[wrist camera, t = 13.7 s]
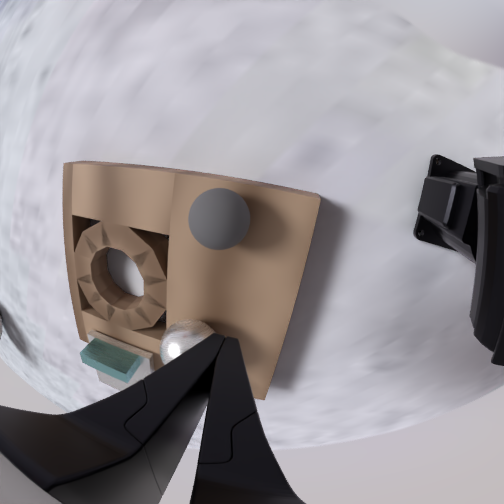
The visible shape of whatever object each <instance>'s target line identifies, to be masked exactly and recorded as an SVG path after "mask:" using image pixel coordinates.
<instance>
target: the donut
mask: <svg viewBox="0 0 504 504" xmlns="http://www.w3.org/2000/svg"><path fill="white" fill-rule="evenodd" d="M1 335H2V319H1V315H0V339H1Z"/></svg>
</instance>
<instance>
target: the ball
mask: <svg viewBox="0 0 504 504" xmlns="http://www.w3.org/2000/svg"><path fill="white" fill-rule="evenodd" d="M213 333H216V332H215V331H214V330H213V329H212V328H211V327H210V326H209V325H207V324H206V323H204V322H202V321H199V320H194V319H185V320H180V321H178V322H176V323H174V324H172V325H171V326H170V327H169V328H168V329H167V330H166V331H165V332H164V334H163V336H162V338H161V341H160V356H161V359H162V362H163V363H164V365H165V364H167V363H168V362H170V361H171V360H173V359H175V358H176V357H178V356H179V355H181V354H182V353H184V352H185V351H187V350H188V349H190V348H191V347H193V346H194V345H196V344H198V343H199V342H201V341H202V340H204V339H205V338H207V337H208V336H210V335H211V334H213Z"/></svg>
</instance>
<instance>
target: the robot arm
mask: <svg viewBox="0 0 504 504" xmlns="http://www.w3.org/2000/svg"><path fill="white" fill-rule="evenodd" d="M436 159H438V160H439V163H438V164H436ZM473 160H474V168H476V172H475V171H473V170H471V169H469V168H467V167H465V166H463V165H461V164H458V163H456V162H454V161H452V160H450V159H448V158H445V157H443V156H441V155H436V154H435V155H433V156H432V157H431V160H430V165H429V170H428V175H427V177H426V178H425V181H424V185H423V190H422V194H421V198H420V202H419V206H418V212H419V213H418V217H417V221H416V224H415V228H414V232H413V234H414V236H415V237H416V238H417V239H418V240H421V241H425V242H428V243H432V244H435V245H438V246H442V247H445V248H448V249H451V250H455V251H458V252H460V253H461V254H462V255H464V256H465V257H467V258H468V259H469V260H471V261H472V262H473V263H475V264H476V270H475V280H474V288H473V296H472V302H471V310H470V318H471V321H472V324H473V327H474V328H475V329H474V336H475V337H476V338H477V339H478V340H479V341H480V343H481V344H482V345H484V346H485V347H486V348H488V349H489V350H490V351H492V352H494V353H493V356H492V359H491V362H492V363H493V364H496V365H501V366H504V156H502V157H481V158H473ZM420 230H422V233H421V235H418V232H419V231H420ZM207 404H208V405H207ZM206 406H207V411H206V416H205V422H204V428H203V434H202V440H201V446H200V452H199V458H198V465H197V470H196V476H195V481H194V486H193V490H192V495H191V500H190V504H306V503H304V502H303V501H302V500H301V499H300V498H299V497H298V496H297V495H296V494H295V492H294V491H293V490H292V488H291V487H290V485H289V483H288V482H287V480H286V478H285V476H284V474H283V472H282V470H281V468H280V466H279V464H278V462H277V460H276V458H275V456H274V454H273V452H272V450H271V448H270V446H269V443H268V441H267V439H266V436H265V433H264V431H263V428H262V424H261V421H260V418H259V414H258V412H257V407H256V404H255V400H254V396H253V393H252V389H251V385H250V382H249V378H248V374H247V370H246V366H245V362H244V358H243V354H242V351H241V347H240V343H239V340H238V338H234V337H230V336H227V337H225V335H222V334H218V333H213V334H211V335H210V336H208V337H207V338H205V339H204V340H202V341H201V342H199V343H198V344H196V345H194V346H193V347H191V348H190V349H188V350H187V351H185V352H184V353H182V354H181V355H179V356H178V357H176V358H175V359H173V360H171V361H170V362H168V363H167V364H165V365H164V366H162V367H160V368H159V369H157V370H156V371H154V372H152V373H151V374H149V375H148V376H146V377H144V378H143V379H141V380H139V381H138V382H136V383H134V384H133V385H131V386H129V387H127V388H126V389H124V390H122V391H120V392H118V393H116V394H114V395H112V396H110V397H107V398H105V399H103V400H100V401H98V402H96V403H93V404H91V405H88V406H86V407H83V408H81V409H78V410H76V411H73V412H70V413H66V414H59V415H52V414H44V413H37V412H31V411H25V410H19V409H14V408H10V407H5V406H1V405H0V504H158V503H159V502H160V500H161V498H162V495H163V494H164V492H165V490H166V488H167V486H168V484H169V482H170V480H171V478H172V476H173V474H174V472H175V470H176V468H177V466H178V464H179V462H180V460H181V458H182V456H183V453H184V452H185V450H186V448H187V445H188V443H189V441H190V439H191V437H192V435H193V433H194V431H195V429H196V427H197V425H198V423H199V421H200V418H201V416H202V414H203V412H204V410H205V408H206Z"/></svg>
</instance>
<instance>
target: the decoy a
mask: <svg viewBox="0 0 504 504" xmlns="http://www.w3.org/2000/svg"><path fill="white" fill-rule="evenodd" d="M188 223H189V228H190V231H191V233H192V235H193V236H194V238H195V239H196V240H197V241H198V242H199V243H200V244H201V245H203V246H205V247H207V248H209V249H213V250H225V249H229V248H231V247H233V246H235V245H237V244H238V243H239V242H240V241H241V240H242V239H243V238H244V237H245V235H246V234H247V232H248V229H249V225H250V212H249V209H248V206H247V204H246V202H245V201H244V200H243V198H242V197H241V196H240V195H238V194H237V193H235V192H234V191H232V190H229V189H225V188H214V189H210V190H207V191H205V192H203V193H202V194H200V195H199V196H198V197H197V198H196V199H195V201H194V202H193V204H192V205H191V208H190V211H189V216H188Z"/></svg>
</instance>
